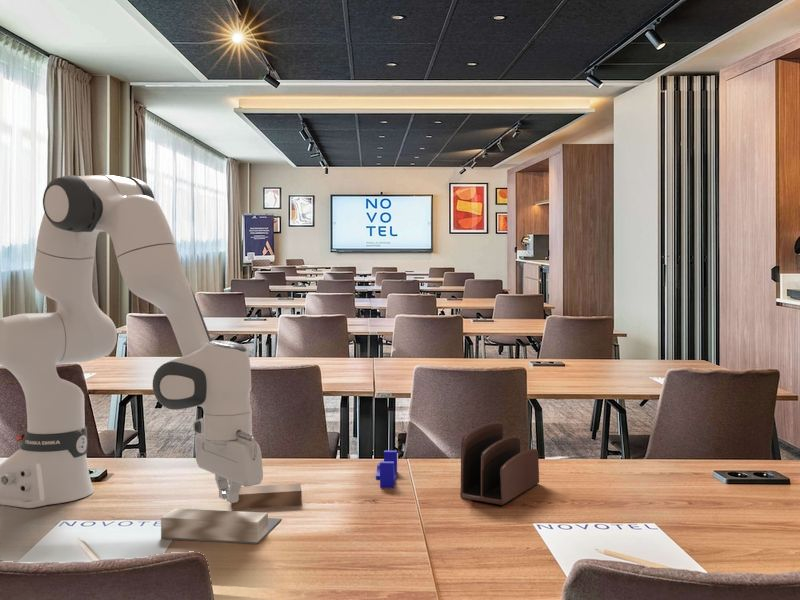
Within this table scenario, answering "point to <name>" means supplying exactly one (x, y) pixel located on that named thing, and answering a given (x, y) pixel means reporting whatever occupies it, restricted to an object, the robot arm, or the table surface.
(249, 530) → the beige wooden block
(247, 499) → the walnut plank
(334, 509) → the table surface
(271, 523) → the underlay mat
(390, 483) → the cable clip
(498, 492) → the letter holder
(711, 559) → the table surface
